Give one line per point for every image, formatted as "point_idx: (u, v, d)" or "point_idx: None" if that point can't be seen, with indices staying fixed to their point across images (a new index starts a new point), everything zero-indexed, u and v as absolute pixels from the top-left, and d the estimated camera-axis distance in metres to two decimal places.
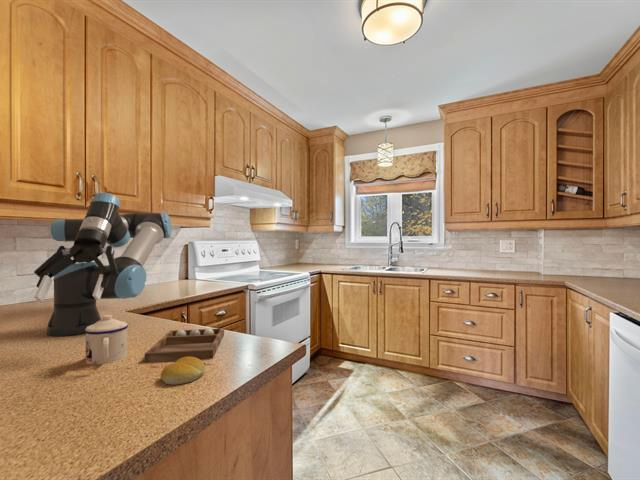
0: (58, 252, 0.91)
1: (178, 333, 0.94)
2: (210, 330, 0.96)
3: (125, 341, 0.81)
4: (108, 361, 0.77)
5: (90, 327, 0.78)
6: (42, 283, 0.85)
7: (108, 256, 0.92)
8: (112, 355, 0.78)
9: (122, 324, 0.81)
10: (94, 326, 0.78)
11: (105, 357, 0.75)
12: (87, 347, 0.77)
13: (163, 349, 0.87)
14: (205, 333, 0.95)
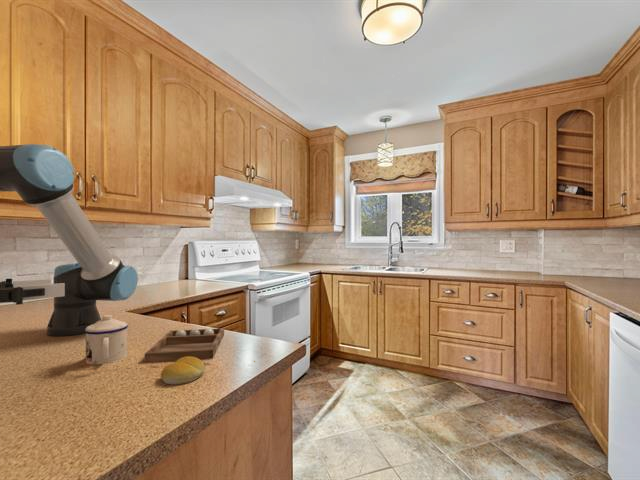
0: None
1: (178, 333, 0.94)
2: (210, 330, 0.96)
3: (125, 341, 0.81)
4: (108, 361, 0.77)
5: (90, 327, 0.78)
6: None
7: None
8: (112, 355, 0.78)
9: (122, 324, 0.81)
10: (94, 326, 0.78)
11: (105, 357, 0.75)
12: (87, 347, 0.77)
13: (163, 349, 0.87)
14: (205, 333, 0.95)
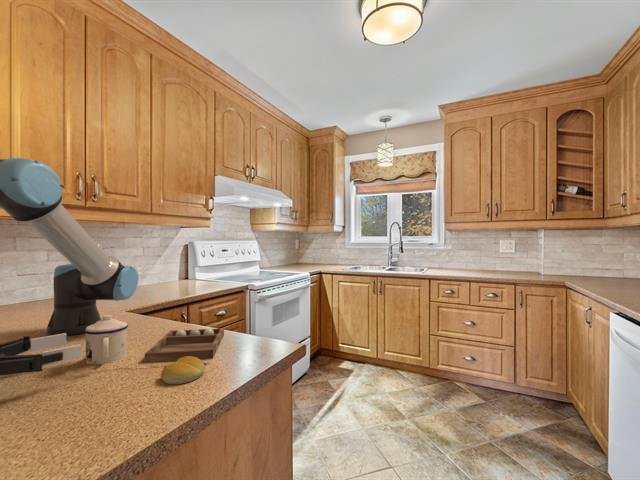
0: None
1: (178, 333, 0.94)
2: (210, 330, 0.96)
3: (125, 341, 0.81)
4: (108, 361, 0.77)
5: (90, 327, 0.78)
6: None
7: None
8: (112, 355, 0.78)
9: (122, 324, 0.81)
10: (94, 326, 0.78)
11: (105, 357, 0.75)
12: (87, 347, 0.77)
13: (163, 349, 0.87)
14: (205, 333, 0.95)
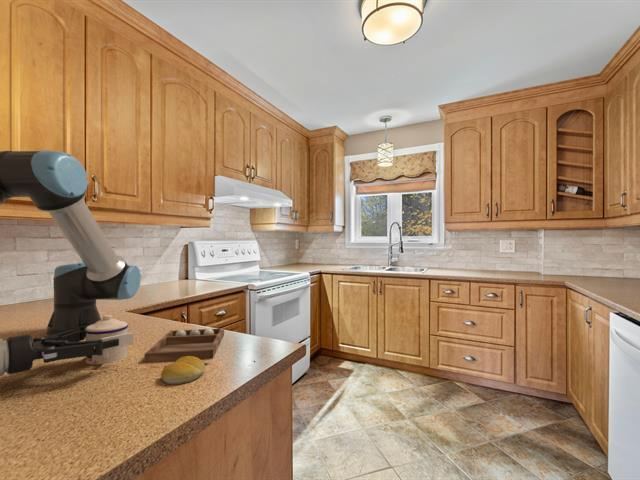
0: None
1: (178, 333, 0.94)
2: (210, 330, 0.96)
3: None
4: (108, 361, 0.77)
5: (90, 327, 0.78)
6: None
7: None
8: (112, 355, 0.78)
9: (122, 324, 0.81)
10: (94, 326, 0.78)
11: (105, 357, 0.75)
12: None
13: (163, 349, 0.87)
14: (205, 333, 0.95)
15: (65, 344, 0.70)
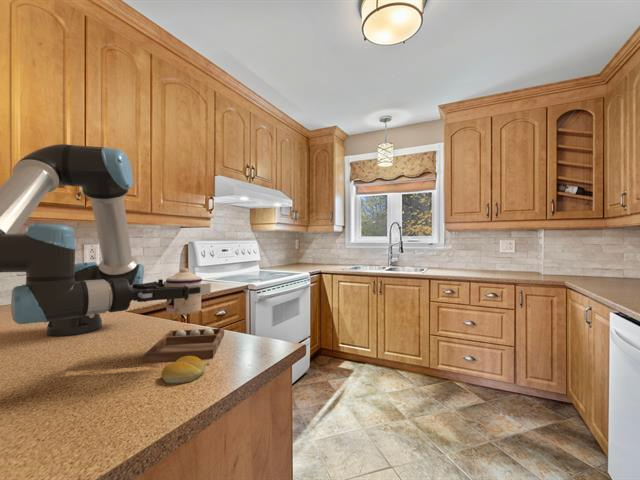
0: None
1: (178, 333, 0.94)
2: (210, 330, 0.96)
3: None
4: (188, 309, 0.83)
5: (171, 277, 0.84)
6: None
7: None
8: (191, 303, 0.84)
9: (198, 276, 0.87)
10: (175, 276, 0.84)
11: (187, 303, 0.81)
12: None
13: (163, 349, 0.87)
14: (205, 333, 0.95)
15: (156, 288, 0.76)
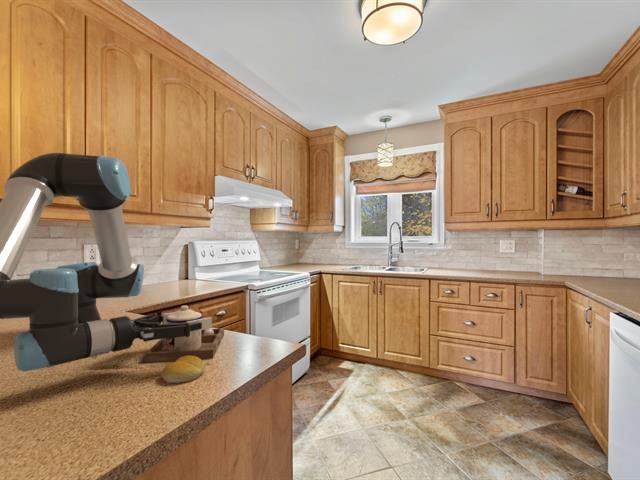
0: None
1: None
2: (210, 330, 0.96)
3: (200, 330, 0.88)
4: (188, 348, 0.84)
5: (171, 316, 0.84)
6: None
7: None
8: (192, 342, 0.84)
9: (198, 314, 0.87)
10: (175, 315, 0.84)
11: (188, 344, 0.81)
12: None
13: (163, 349, 0.87)
14: (205, 333, 0.95)
15: (158, 325, 0.76)
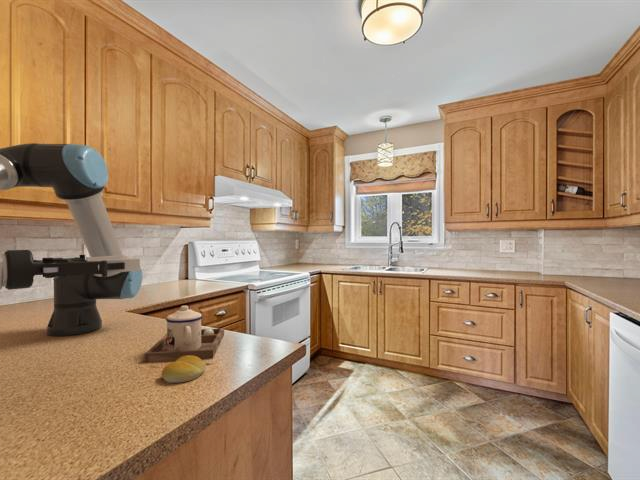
0: None
1: None
2: (210, 330, 0.96)
3: (200, 330, 0.88)
4: (188, 348, 0.84)
5: (171, 316, 0.84)
6: (99, 267, 0.78)
7: (70, 274, 0.62)
8: (192, 342, 0.84)
9: (198, 314, 0.87)
10: (175, 315, 0.84)
11: (188, 344, 0.81)
12: (169, 335, 0.83)
13: (163, 349, 0.87)
14: (205, 333, 0.95)
15: (67, 262, 0.64)
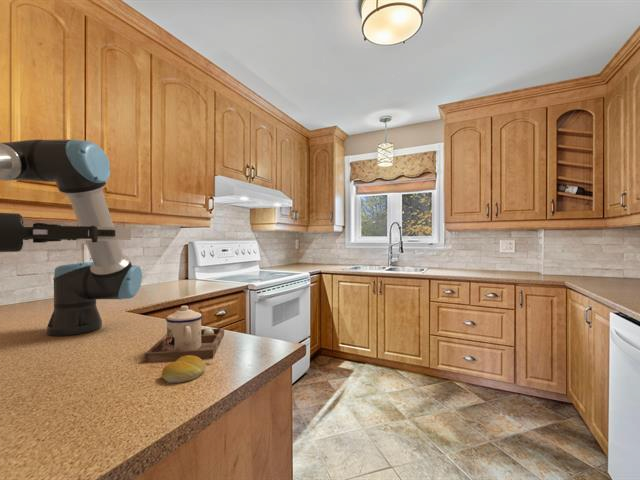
0: None
1: None
2: (210, 330, 0.96)
3: (200, 330, 0.88)
4: (188, 348, 0.84)
5: (171, 316, 0.84)
6: (91, 240, 0.78)
7: (60, 238, 0.62)
8: (192, 342, 0.84)
9: (198, 314, 0.87)
10: (175, 315, 0.84)
11: (188, 343, 0.81)
12: (169, 335, 0.83)
13: (163, 349, 0.87)
14: (205, 333, 0.95)
15: None
